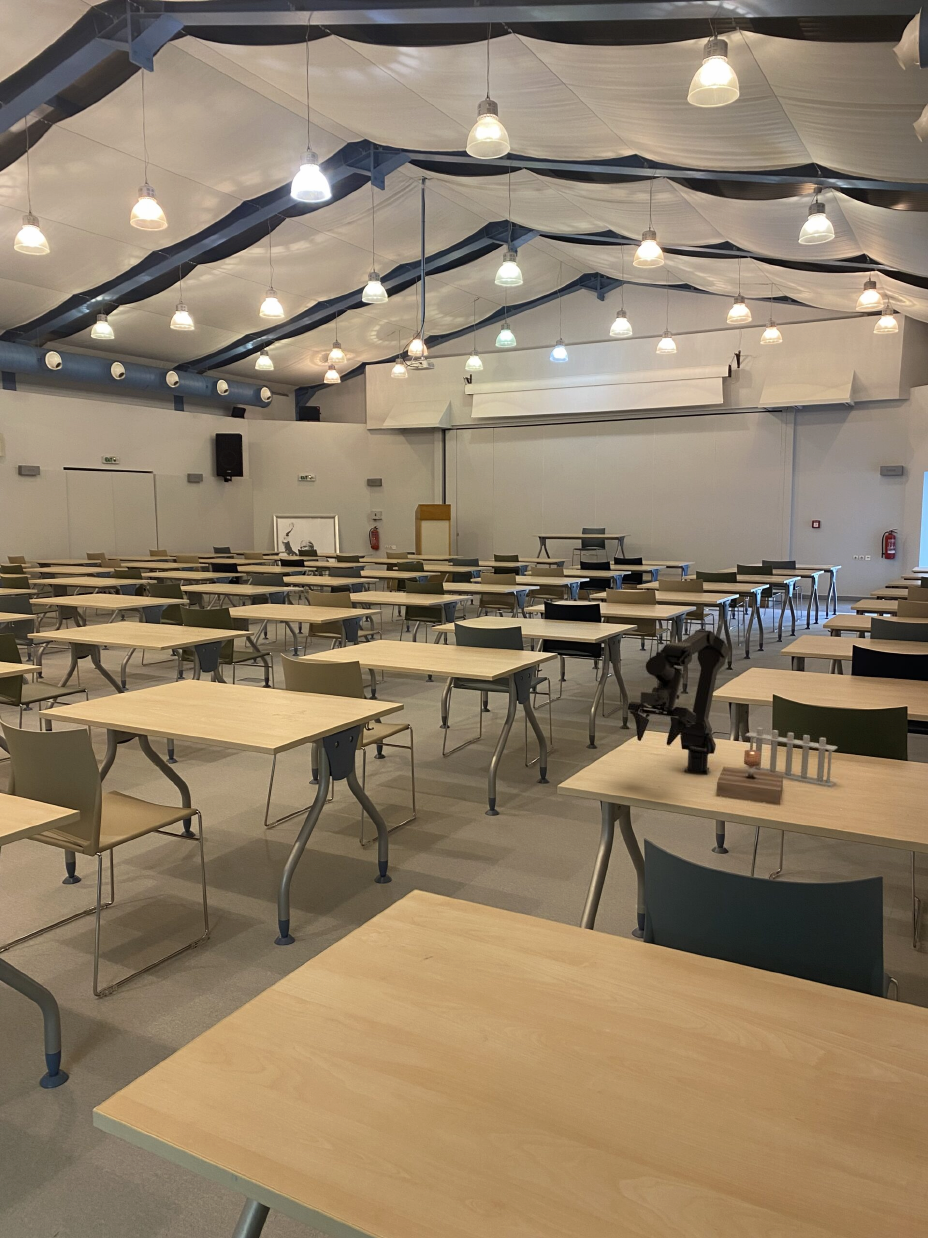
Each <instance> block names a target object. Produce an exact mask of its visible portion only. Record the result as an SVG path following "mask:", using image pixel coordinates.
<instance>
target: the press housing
mask: <svg viewBox="0 0 928 1238" xmlns="http://www.w3.org/2000/svg"><path fill="white" fill-rule="evenodd" d="M783 786H784V778H783V774H780V773H772V772H764V771H756V770H754V779H748V769H743V768H741V767H740V768H739V767H732V766H722V768H721V772H720V774H719V777H718V779H717V781H716V797H720V796H721V798H727V797H728V798H727V799H729V798H730V799H734V800H741V799H742V800H743V801H749V800H750V802H757V803H763V802H765V804H770V805H777V804H779V805H778V806H780V805H781V799H782V793H783Z"/></svg>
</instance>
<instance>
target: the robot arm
mask: <svg viewBox="0 0 928 1238" xmlns="http://www.w3.org/2000/svg"><path fill="white" fill-rule="evenodd" d="M729 652H730V651H729V646H728V645H727V643H726V642H725V640H724V639H722V638H720V637H719V636H717V635H716V634H715V631H711V630H706V629H696V630H695V631H694V632H693V633H692V634H691V635H689V636H687V637H686V638H684V639H683V640H681V641H678V642H669V643H666V644H664V646H663V648H661V650H660V651H657V652H656V653H655V655H654V656H653V655H652V656H651V657H650V658H649V659H648V660H647V661H646V662H645V663H646V664H645V671H646V672H647V673H648V674H649V675H650V676H651V677H652V678H653V679H655V681H657V685H656V686H655V687H653V688H652V689H651V690H652V691H640V700H639V701H640V702H639V701H630V702H629V703H628V705H627V708H626V711H627V712H629V713H630V715H631V716H632V717H633V718H634V720H635V721H634V722H635V728H636V729H635V730H636V739H637V741H639V742H641V741H642V739H643V738H644V734H645V733H646V729H647V727H648V724H649V722H650V719H649V717H650V715H653V716H659V717H661V716H662V717H668V718H670V728H669V731H668V734H667V737H666V746H671V745H672V744H673V742H674V741H675V740H676V739H677V738H678V736H680V745H681V750H687V765H686V766H685V768H684V773H692V774H699V775H708V773H709V772H710V766H709V767H708V763H709V761H708V760H709V755H711V754H712V755H713V754H715V752H716V747H717V744H716V742H715V739H714V738H713V735H712V732H713V728H712V725H711V723H710V720H709V717H710V712H711V706H712V701H713V697H714V692H715V691H714V690H715V685H716V680H717V676H718V672H719V671H720V670H721V669H722V667H724V666H725V664H726V660H727V658H728V656H729ZM696 653H697V659H696V660H697V661H698V663H699V666H700V672H699V676H698V683H697V688H696V693H695V698H694V702H693V703H694V704H693V708H692V710H691V709H689V708H687V707H683V706H675V704H676V700H680V695H679V694H678V693H679V688H680V685H681V681H682V679H684V678H685V675H684V673H683V671H682V668H678V667H683V668H684V667H685V668H686V667H687V666H689V664H690V663H691V662H692V661H693V656H694V655H695V654H696ZM676 666H677V667H676ZM649 706H650V707H649Z"/></svg>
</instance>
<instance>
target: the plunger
mask: <svg viewBox="0 0 928 1238" xmlns="http://www.w3.org/2000/svg"><path fill="white" fill-rule="evenodd" d="M743 764H744V765H745V766H748V779H754V769H755V766H759V764H760V752H759V751H756V749H753V750H750V749H745V750H744V757H743Z"/></svg>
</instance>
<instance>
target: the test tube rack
mask: <svg viewBox="0 0 928 1238" xmlns="http://www.w3.org/2000/svg"><path fill="white" fill-rule="evenodd" d="M794 734H795V733H794V732H787V735H786V737H781V736H779V730H776V729H774V730H771V734H770V735H769V734H765V733H764V728H763V727H757V728H756V732H747V733H746V734H745V735H744V736H745V737H749V738H750V740H749V741H750V742H749V750H754V748H753V747H754V738H756V739H755V741H756V742H755V750H756V751H759V752H760V764H759V766H755V769H754V770H756V771H764V772H772V773H780V774H783V780H784V779H785V780H789V781H795V782H800V783H805V784H810V785H816V786H821V787H825V786H826V787H827V788H833V787H834V786H835V785H836V781H834V780H831V769H832V768H831V767H832V758H833V757H832V756H833V755H832V754H833V752H834V751H835V750H837V749H838V746H836V745H830V744H827V738H826V737H819V741H818V742H819V743H818V742H813V741H812V742H811V737H810V735H809V734H808V735H807V734H803V737H802V740H800V739H794V737H795V735H794ZM763 740H767V741H771V743H770V761H769V768H764V767H761V766H762V753H763ZM779 742H780V743H783V744H784V743H785V744H786V751H785V766H784V768H785V769H784V771H779V770H777V759H778V757H777V755H778V743H779ZM794 745H796V746H797V745H798V746H801V747H802V753H801V766H800V767H801V768H800V774H796V773H793V772H792V769H793V767H792V766H793V756H794V755H793V751H794ZM810 748H814V749H818V753H817V755H818V758H817V770H816V777H813V776H808V770H809V769H808V768H809V754H810ZM826 751H828V756H827V757H828V758H827V771H826V774H827V775H826V779H824V776H825V759H826ZM742 769H748V765H745V767H743V768H742Z"/></svg>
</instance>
